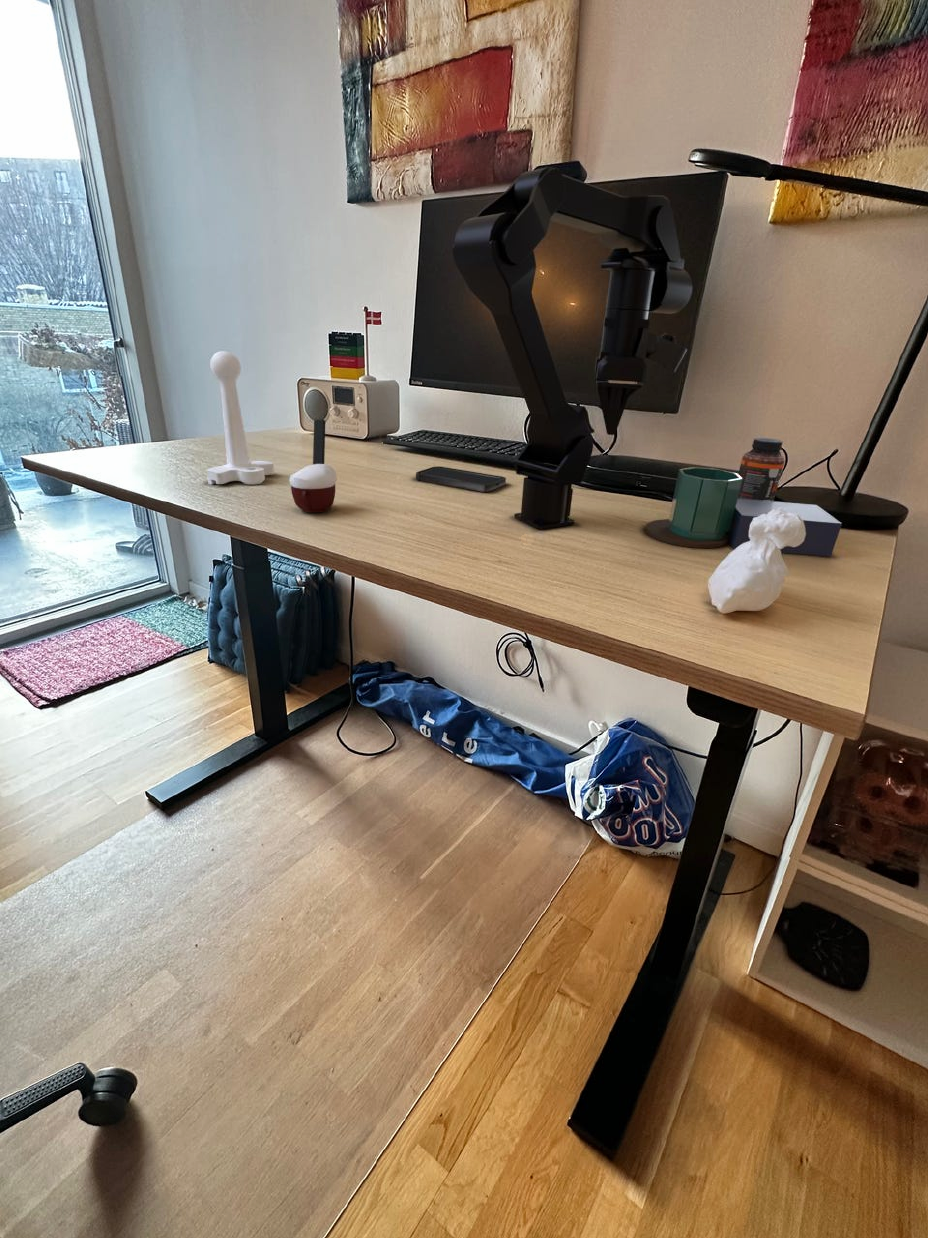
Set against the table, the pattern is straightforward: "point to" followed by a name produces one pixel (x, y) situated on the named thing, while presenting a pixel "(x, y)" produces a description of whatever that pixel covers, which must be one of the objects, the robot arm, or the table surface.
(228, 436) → the joystick
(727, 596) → the white tied sack
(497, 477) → the phone
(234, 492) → the table surface
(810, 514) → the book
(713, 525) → the cup
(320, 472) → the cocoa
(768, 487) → the supplement bottle
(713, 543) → the coaster
